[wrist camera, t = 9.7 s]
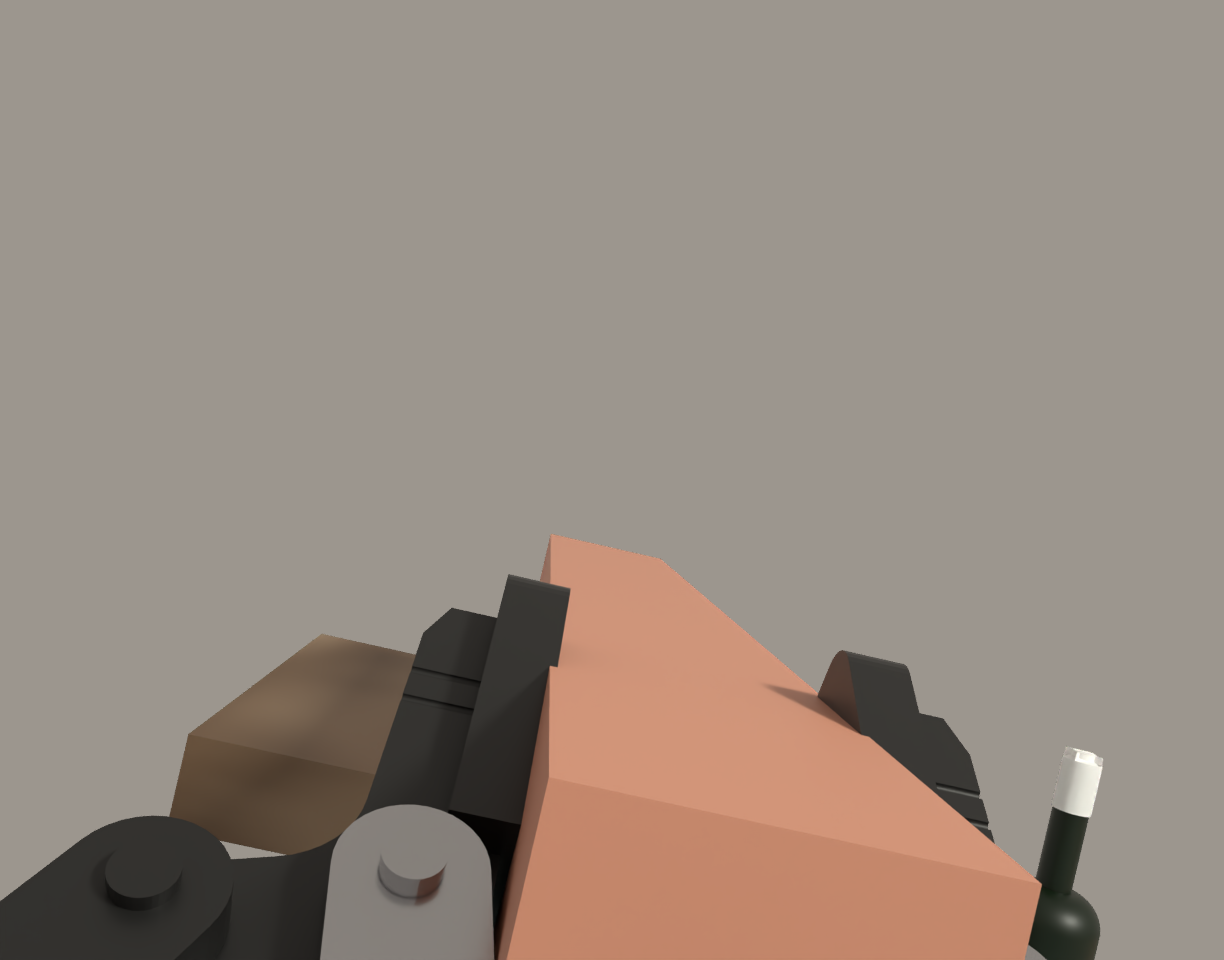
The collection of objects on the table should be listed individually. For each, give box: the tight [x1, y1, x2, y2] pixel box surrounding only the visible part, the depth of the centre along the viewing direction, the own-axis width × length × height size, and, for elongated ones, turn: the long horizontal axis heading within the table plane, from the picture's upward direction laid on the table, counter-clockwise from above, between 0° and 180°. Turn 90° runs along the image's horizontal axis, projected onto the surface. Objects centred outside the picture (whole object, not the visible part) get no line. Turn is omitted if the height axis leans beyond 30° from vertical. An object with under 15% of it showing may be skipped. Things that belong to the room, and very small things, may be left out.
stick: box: [493, 534, 1042, 960], centre depth 20 cm, size 3×26×3 cm, turn 3°
